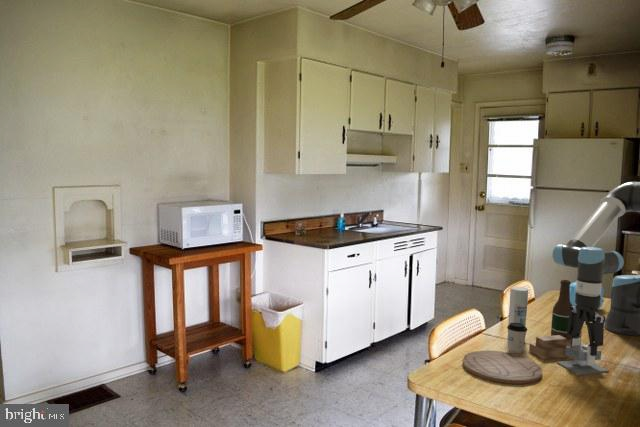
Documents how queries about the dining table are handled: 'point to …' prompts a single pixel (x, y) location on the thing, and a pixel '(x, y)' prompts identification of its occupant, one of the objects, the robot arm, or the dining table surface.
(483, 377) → the trivet
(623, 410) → the dining table surface
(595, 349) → the robot arm
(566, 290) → the beer bottle
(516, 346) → the coffee cup
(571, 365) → the mat
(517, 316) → the spray can
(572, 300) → the decorative pot
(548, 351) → the plane body
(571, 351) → the lever cap
